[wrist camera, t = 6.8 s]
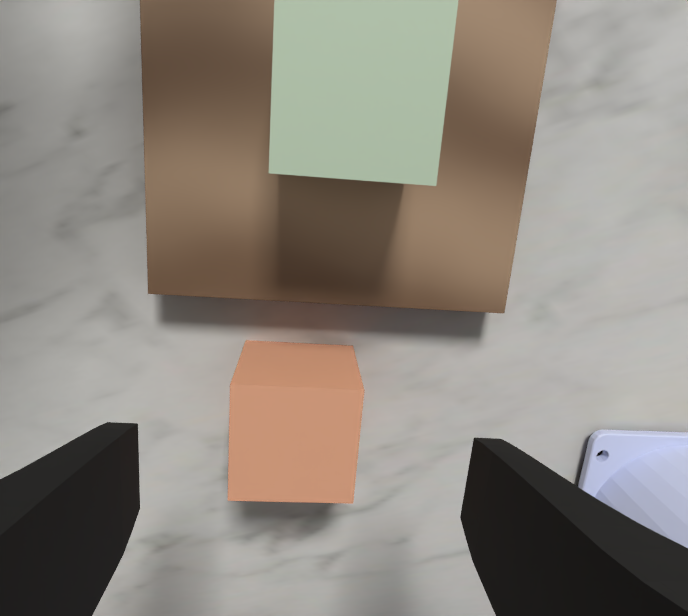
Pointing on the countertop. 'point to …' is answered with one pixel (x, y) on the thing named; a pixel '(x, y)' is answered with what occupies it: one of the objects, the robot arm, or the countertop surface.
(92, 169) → the countertop surface
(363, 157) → the sage block
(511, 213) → the walnut base
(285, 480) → the terracotta block
